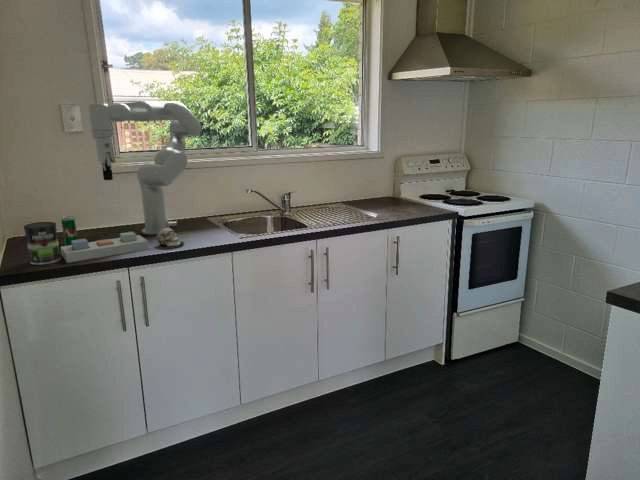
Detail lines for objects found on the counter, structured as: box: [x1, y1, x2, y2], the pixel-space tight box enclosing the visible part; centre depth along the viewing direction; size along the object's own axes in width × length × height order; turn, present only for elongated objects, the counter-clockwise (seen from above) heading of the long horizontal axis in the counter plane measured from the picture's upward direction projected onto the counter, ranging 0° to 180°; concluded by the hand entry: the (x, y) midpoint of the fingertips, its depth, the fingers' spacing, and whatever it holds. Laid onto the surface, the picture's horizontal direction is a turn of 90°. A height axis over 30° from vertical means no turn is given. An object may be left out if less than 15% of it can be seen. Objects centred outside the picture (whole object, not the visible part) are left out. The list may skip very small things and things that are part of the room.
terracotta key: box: [96, 238, 113, 247], centre depth 185 cm, size 5×5×4 cm
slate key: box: [71, 238, 89, 251], centre depth 179 cm, size 5×5×4 cm
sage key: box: [119, 231, 137, 243], centre depth 190 cm, size 5×5×4 cm
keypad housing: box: [60, 234, 150, 264], centre depth 185 cm, size 30×12×4 cm, turn 127°
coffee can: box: [23, 221, 62, 266], centre depth 173 cm, size 10×10×14 cm
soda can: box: [60, 215, 78, 246], centre depth 195 cm, size 5×5×12 cm
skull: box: [154, 227, 185, 250], centre depth 194 cm, size 12×10×10 cm
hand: (108, 179), depth 193 cm, fingers closed
